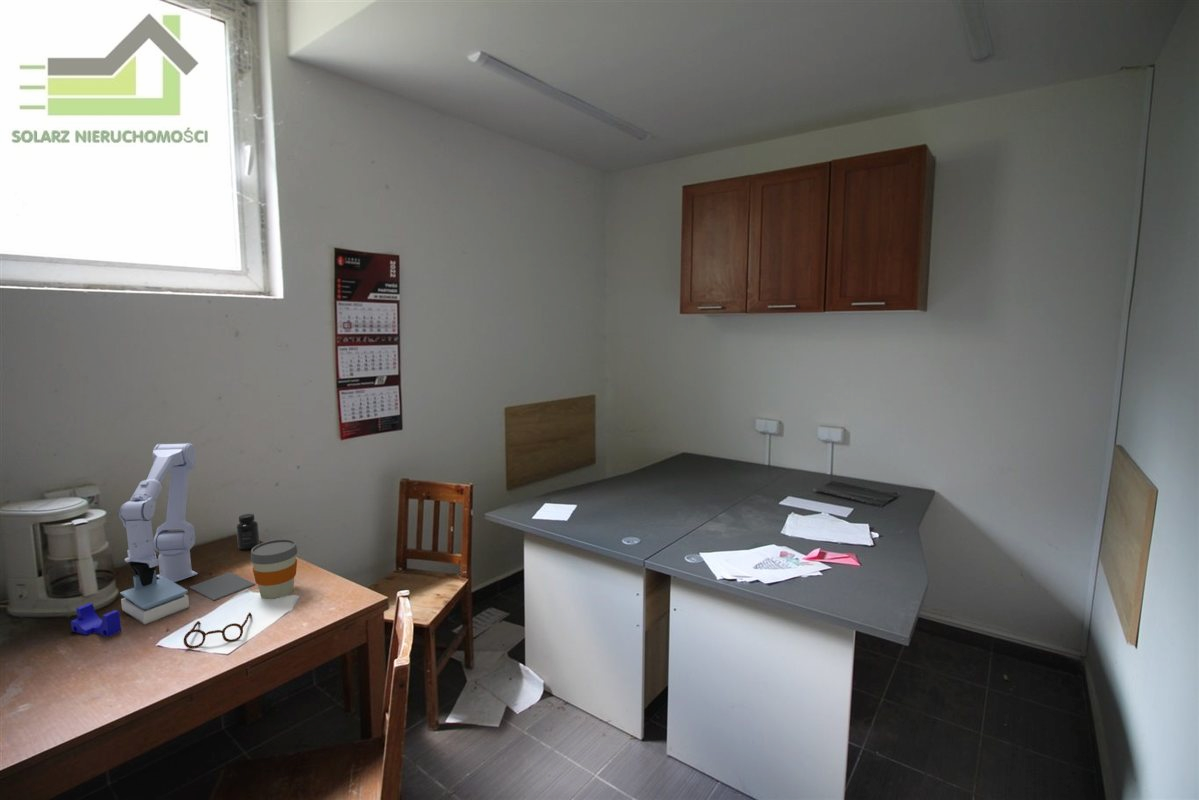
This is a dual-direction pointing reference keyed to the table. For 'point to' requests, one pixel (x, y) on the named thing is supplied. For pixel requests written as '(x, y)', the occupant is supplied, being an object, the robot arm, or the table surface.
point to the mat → (221, 586)
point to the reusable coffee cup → (274, 567)
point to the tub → (154, 609)
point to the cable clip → (95, 621)
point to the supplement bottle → (247, 532)
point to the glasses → (215, 632)
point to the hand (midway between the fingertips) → (145, 583)
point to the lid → (153, 592)
